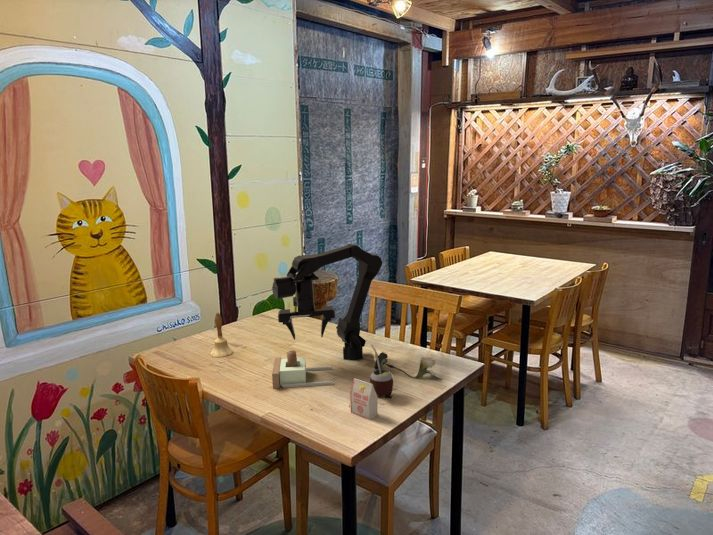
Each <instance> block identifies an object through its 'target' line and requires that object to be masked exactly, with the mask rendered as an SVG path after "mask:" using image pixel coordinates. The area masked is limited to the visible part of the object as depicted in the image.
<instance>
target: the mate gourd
mask: <svg viewBox="0 0 713 535" xmlns="http://www.w3.org/2000/svg"><path fill="white" fill-rule="evenodd" d="M370 346H371V347H372V350H373V351H374V355H375V360H376V359H377V363H378V368H379V369H377V370H376V369H374V370H373V371H372V373H371V374H370V377H369V383H371V384H373V387H374V389H375V392H376V394H377V399H380V398H382V397H384V399H388V400H389V399H392V398H393V396H392V393H393V390H394V389H393V388H394V377H393V373H392V372H391V371H390V370H388V369H384V368H382V369H380V364H379V359H378V356H379V353H378V352H377V350H376V348H375V347H374V345H373V344H370Z"/></svg>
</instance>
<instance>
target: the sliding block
mask: <svg viewBox="0 0 713 535" xmlns="http://www.w3.org/2000/svg"><path fill="white" fill-rule="evenodd" d="M306 363H307V362H306V357H297V367H288V361H287V358H281V364H280V370H279V373H280V387H283V384H291V383H307V371H306V368H307V364H306Z"/></svg>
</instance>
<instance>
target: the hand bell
mask: <svg viewBox="0 0 713 535" xmlns="http://www.w3.org/2000/svg"><path fill="white" fill-rule="evenodd" d="M220 314H221V313H220V312H215V315H214V324H215V328H216V330H217V338H216V339H215V340H214V344H213V345H214V346H213V349H212V350H211V351H210V356H211V357H212V356H213V358H225V357H228V356H231V355H232V354H233V353H234V351H233V349H232V348H231V347H230V346H229V344H228V340H227V338H226V337H224V336H223V331H222V327H223V319H222V316H221V315H220Z"/></svg>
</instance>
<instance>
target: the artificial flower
mask: <svg viewBox="0 0 713 535" xmlns="http://www.w3.org/2000/svg"><path fill="white" fill-rule="evenodd" d="M388 357H389V356H388V353H386V352H384V351H382V352H381V353H378V359H379V364H380V369H384V367H385V365H386V366H387V367H388V368H390V369H396V370H398V371H400V372H402V373H403V374H405V375H406V376H408V377H409V378H411V379H414V380H415V379H422V378H423V377H424V376H425V375H426V374H430V375H432V376H434V377H436V378H438V379H440V380H441V379H442V380H443V378H440V377H441V376H439V375H438V374H437V373H436V372H434V371H433V370H430V368H431V369H432V368H433V367H435V365H436V364H437V360H436V359H433V358H432V357H421V358H420V360H419V369H418V372H417V373H416V376H414V377H413V376H412V375H410V374H409V373H408V372H406V371H404V370H402V369H400V368H399V367H396V366H394V365H393V364H389V363H388ZM377 369H379V368H378V363H377V359H376V358H375V364H374V370H377Z"/></svg>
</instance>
